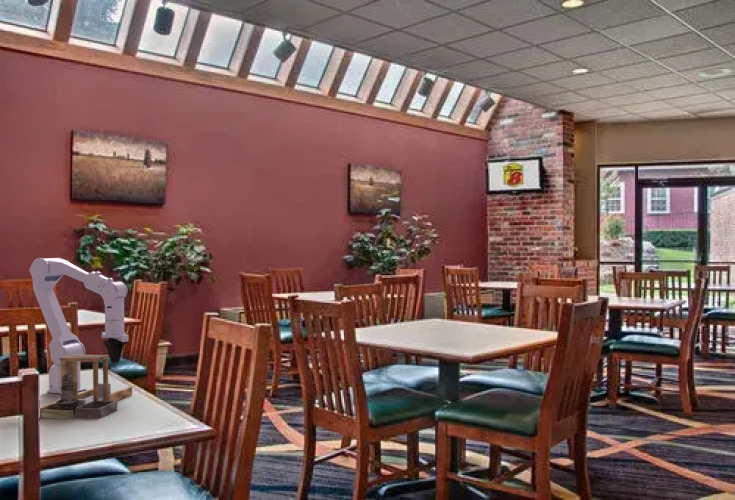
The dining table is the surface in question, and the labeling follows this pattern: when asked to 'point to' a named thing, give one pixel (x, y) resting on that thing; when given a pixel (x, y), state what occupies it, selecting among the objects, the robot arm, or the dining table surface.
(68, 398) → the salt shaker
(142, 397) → the dining table surface
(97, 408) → the brown wooden frame
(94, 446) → the dining table surface
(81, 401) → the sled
